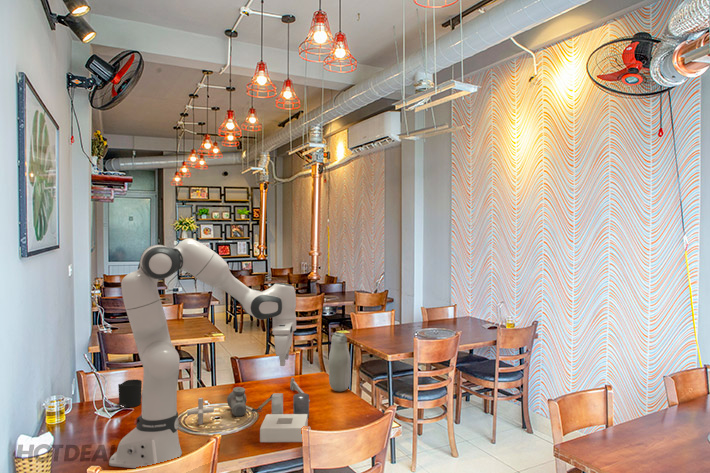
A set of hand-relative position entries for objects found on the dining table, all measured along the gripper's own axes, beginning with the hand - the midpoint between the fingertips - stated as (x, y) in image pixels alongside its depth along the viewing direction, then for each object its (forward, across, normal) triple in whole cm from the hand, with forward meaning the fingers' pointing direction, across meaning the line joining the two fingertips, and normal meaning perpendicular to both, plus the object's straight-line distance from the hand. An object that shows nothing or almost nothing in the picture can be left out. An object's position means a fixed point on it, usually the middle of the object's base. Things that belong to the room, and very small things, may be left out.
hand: (284, 362), depth 183 cm
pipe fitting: (+27, -23, -23) cm, 42 cm away
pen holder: (+27, -33, -73) cm, 85 cm away
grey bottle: (+27, -51, +20) cm, 61 cm away
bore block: (+27, 0, 0) cm, 27 cm away
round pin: (+27, -17, +4) cm, 32 cm away
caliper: (+28, -45, +1) cm, 53 cm away
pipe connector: (+27, -11, -35) cm, 46 cm away
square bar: (+27, -15, -5) cm, 31 cm away
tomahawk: (+28, -34, -12) cm, 46 cm away
